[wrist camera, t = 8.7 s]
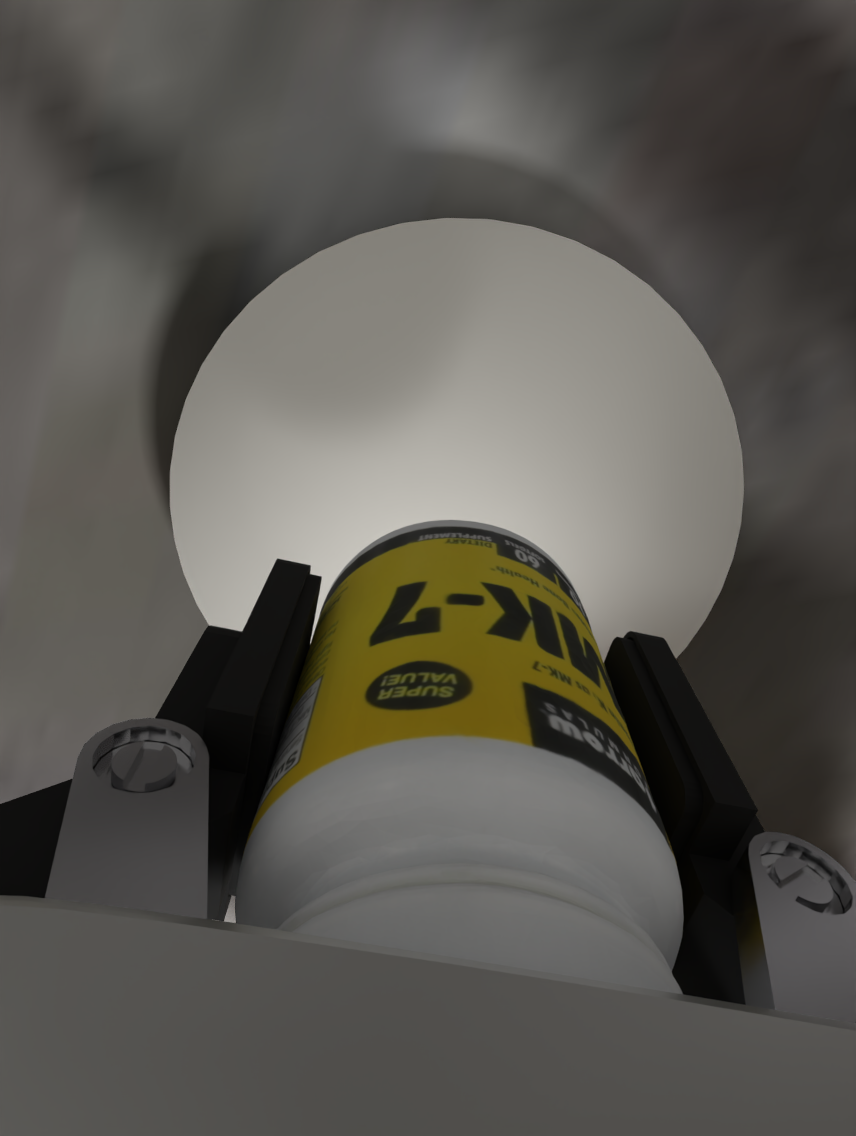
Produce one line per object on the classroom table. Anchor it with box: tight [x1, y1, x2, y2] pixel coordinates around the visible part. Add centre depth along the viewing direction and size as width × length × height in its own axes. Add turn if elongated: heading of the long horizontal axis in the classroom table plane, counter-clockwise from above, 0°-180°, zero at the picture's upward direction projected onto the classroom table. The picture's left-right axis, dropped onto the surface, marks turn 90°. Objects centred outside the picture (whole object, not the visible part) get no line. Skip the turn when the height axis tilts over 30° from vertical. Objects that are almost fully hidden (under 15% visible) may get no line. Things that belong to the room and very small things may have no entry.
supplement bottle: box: [235, 520, 684, 994], centre depth 9 cm, size 5×5×8 cm
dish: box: [170, 218, 744, 663], centre depth 19 cm, size 14×14×2 cm
